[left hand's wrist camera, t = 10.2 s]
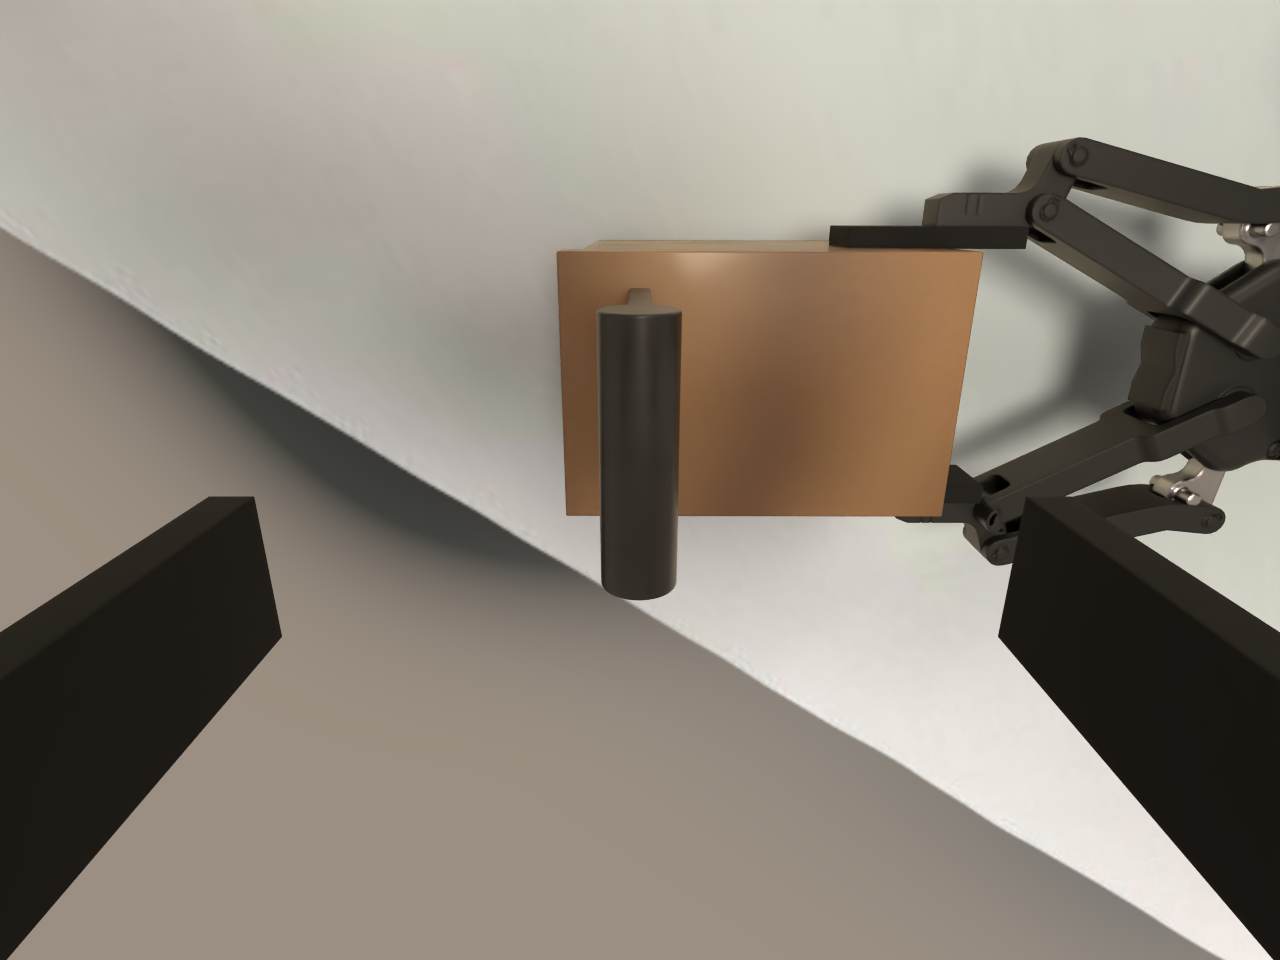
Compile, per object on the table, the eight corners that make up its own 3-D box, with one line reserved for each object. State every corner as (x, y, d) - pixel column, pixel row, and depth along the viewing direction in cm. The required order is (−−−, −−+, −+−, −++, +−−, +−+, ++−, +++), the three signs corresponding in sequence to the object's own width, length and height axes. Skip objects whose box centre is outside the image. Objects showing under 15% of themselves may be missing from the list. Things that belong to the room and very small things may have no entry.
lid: (569, 503, 28) (536, 634, 19) (560, 249, 24) (515, 267, 16) (929, 503, 28) (1060, 635, 19) (967, 250, 24) (1146, 269, 16)
